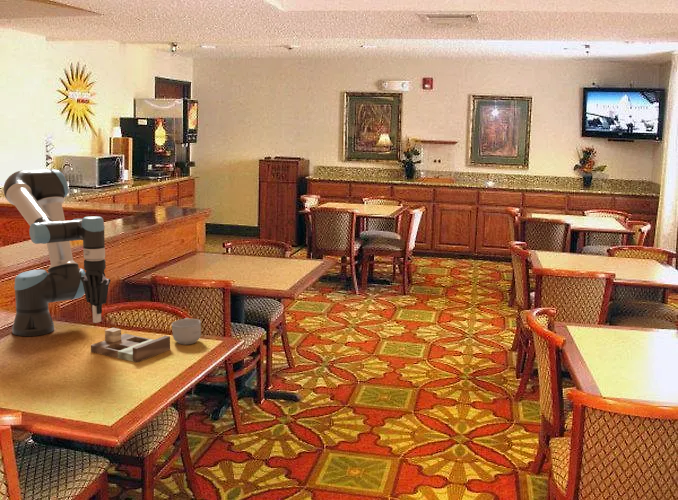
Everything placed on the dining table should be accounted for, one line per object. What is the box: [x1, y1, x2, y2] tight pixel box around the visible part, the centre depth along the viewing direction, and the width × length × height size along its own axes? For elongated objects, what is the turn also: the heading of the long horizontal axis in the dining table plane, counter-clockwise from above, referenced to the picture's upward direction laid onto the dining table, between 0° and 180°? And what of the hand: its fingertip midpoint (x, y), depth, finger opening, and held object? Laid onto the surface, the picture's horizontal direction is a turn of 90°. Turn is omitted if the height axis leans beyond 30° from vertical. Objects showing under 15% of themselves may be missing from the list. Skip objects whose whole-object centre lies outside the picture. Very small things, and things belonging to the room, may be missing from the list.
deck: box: [90, 333, 171, 363], centre depth 272 cm, size 22×17×5 cm
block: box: [104, 327, 122, 342], centre depth 276 cm, size 4×4×4 cm
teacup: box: [171, 317, 202, 346], centre depth 285 cm, size 14×11×8 cm
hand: (97, 321), depth 279 cm, fingers closed
